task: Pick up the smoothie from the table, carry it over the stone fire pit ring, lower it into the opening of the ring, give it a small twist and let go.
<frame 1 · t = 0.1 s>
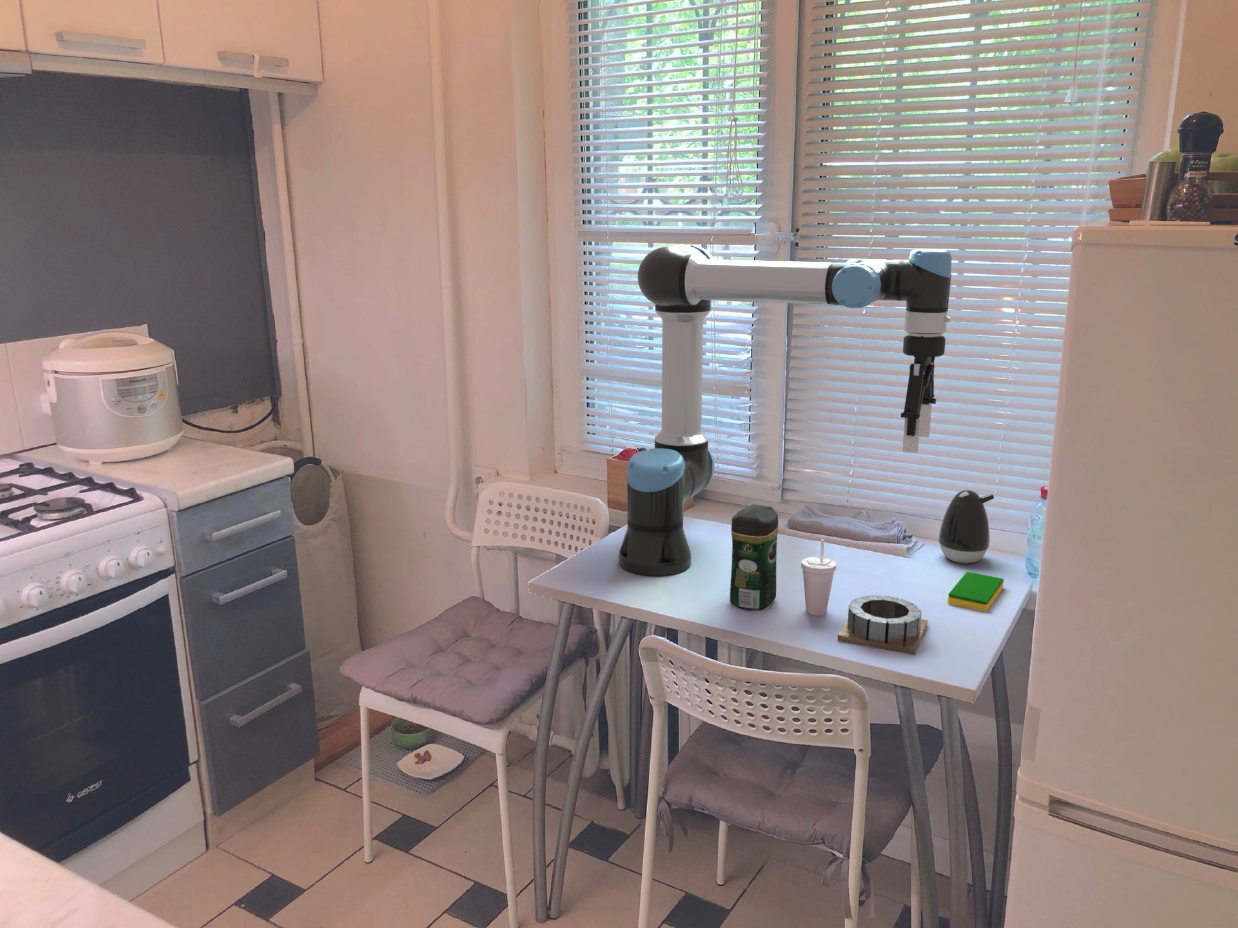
hand: (916, 444, 186), 28 cm above the table, tool pointing down, fingers open, 13 cm apart
stone fire pit ring: (883, 632, 170), on the table
pump dispenser: (962, 560, 204), on the table
coffee jar: (752, 603, 183), on the table
smoothie: (816, 612, 179), on the table
dish sponge: (975, 598, 186), on the table
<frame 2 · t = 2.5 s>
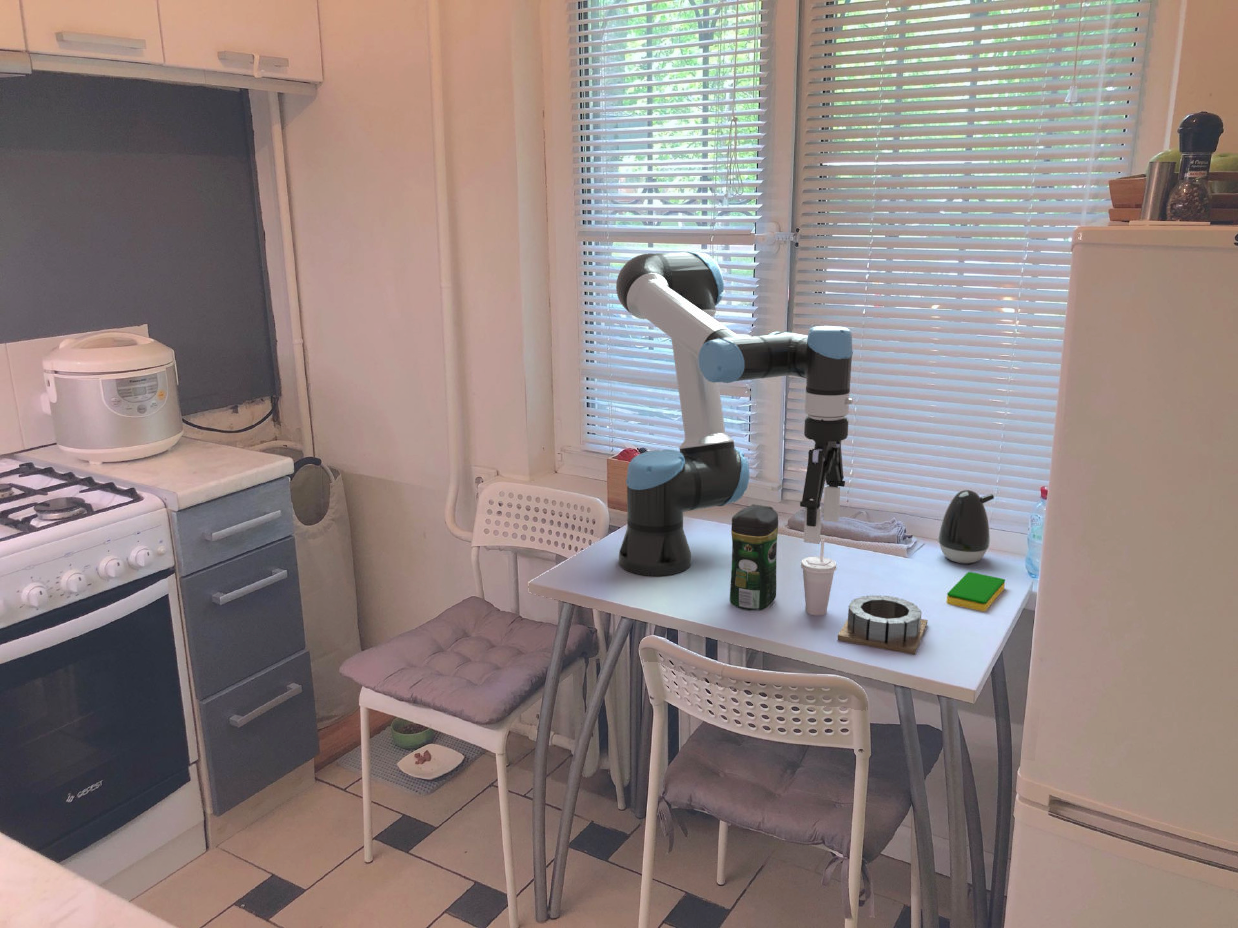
hand: (821, 531, 174), 16 cm above the table, tool pointing down, fingers open, 13 cm apart
nothing on the table moved.
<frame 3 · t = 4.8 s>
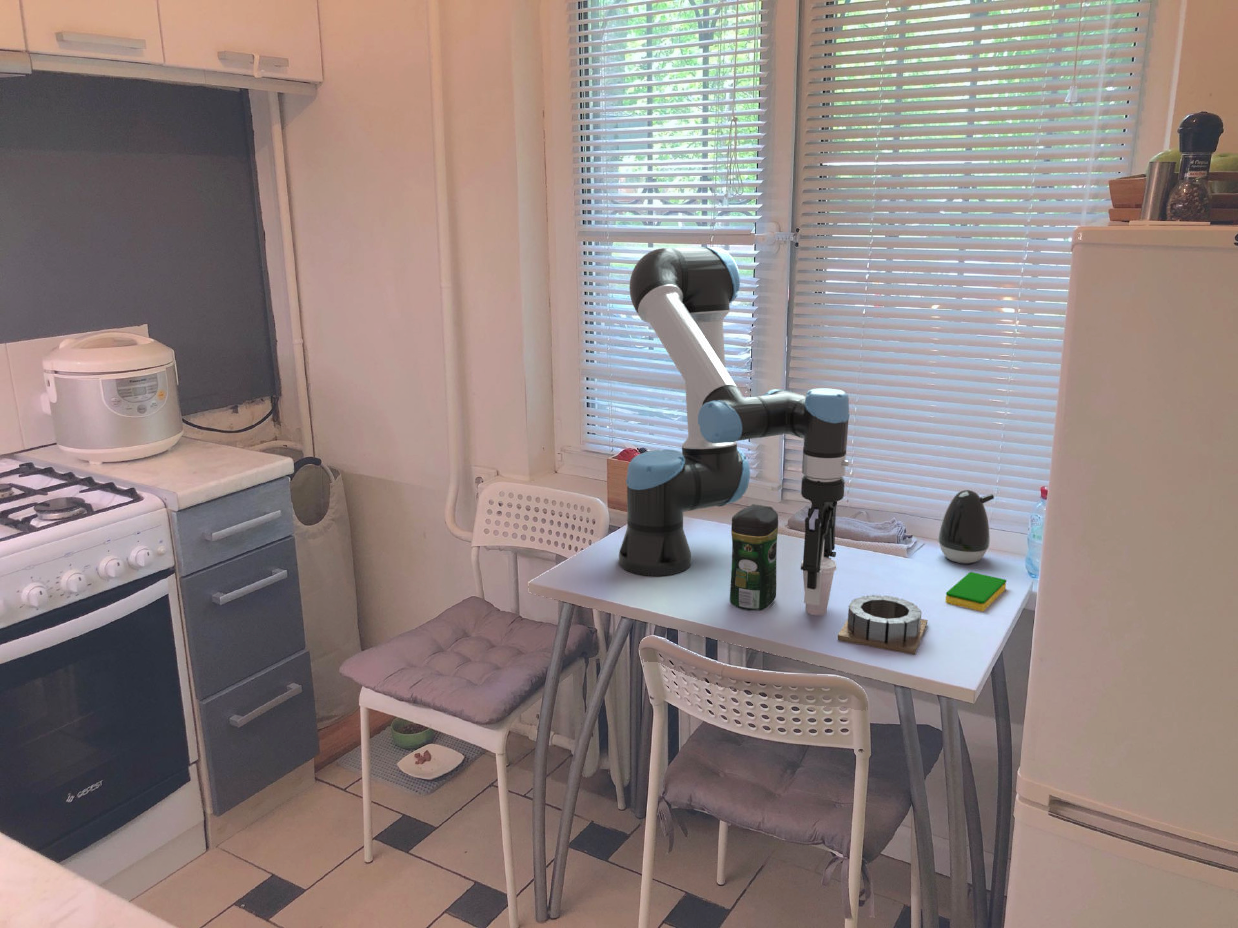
hand: (816, 596, 178), 3 cm above the table, tool pointing down, fingers closed on smoothie, 6 cm apart
smoothie: (816, 612, 179), on the table, touching gripper
everything else where it was.
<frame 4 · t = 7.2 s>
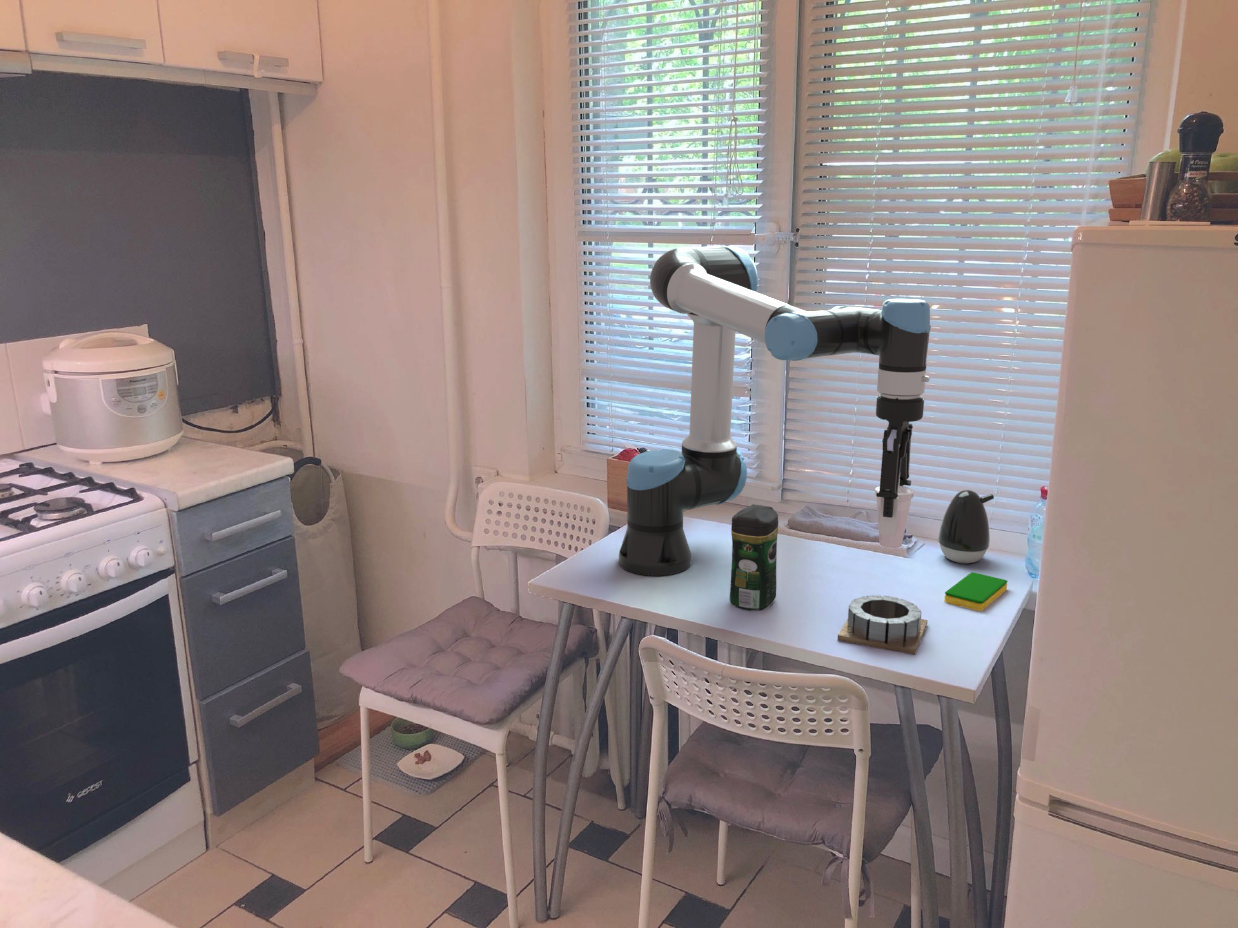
hand: (891, 527, 164), 19 cm above the table, tool pointing down, fingers closed on smoothie, 6 cm apart
smoothie: (890, 545, 165), point 16 cm above the table, touching gripper
everything else where it was.
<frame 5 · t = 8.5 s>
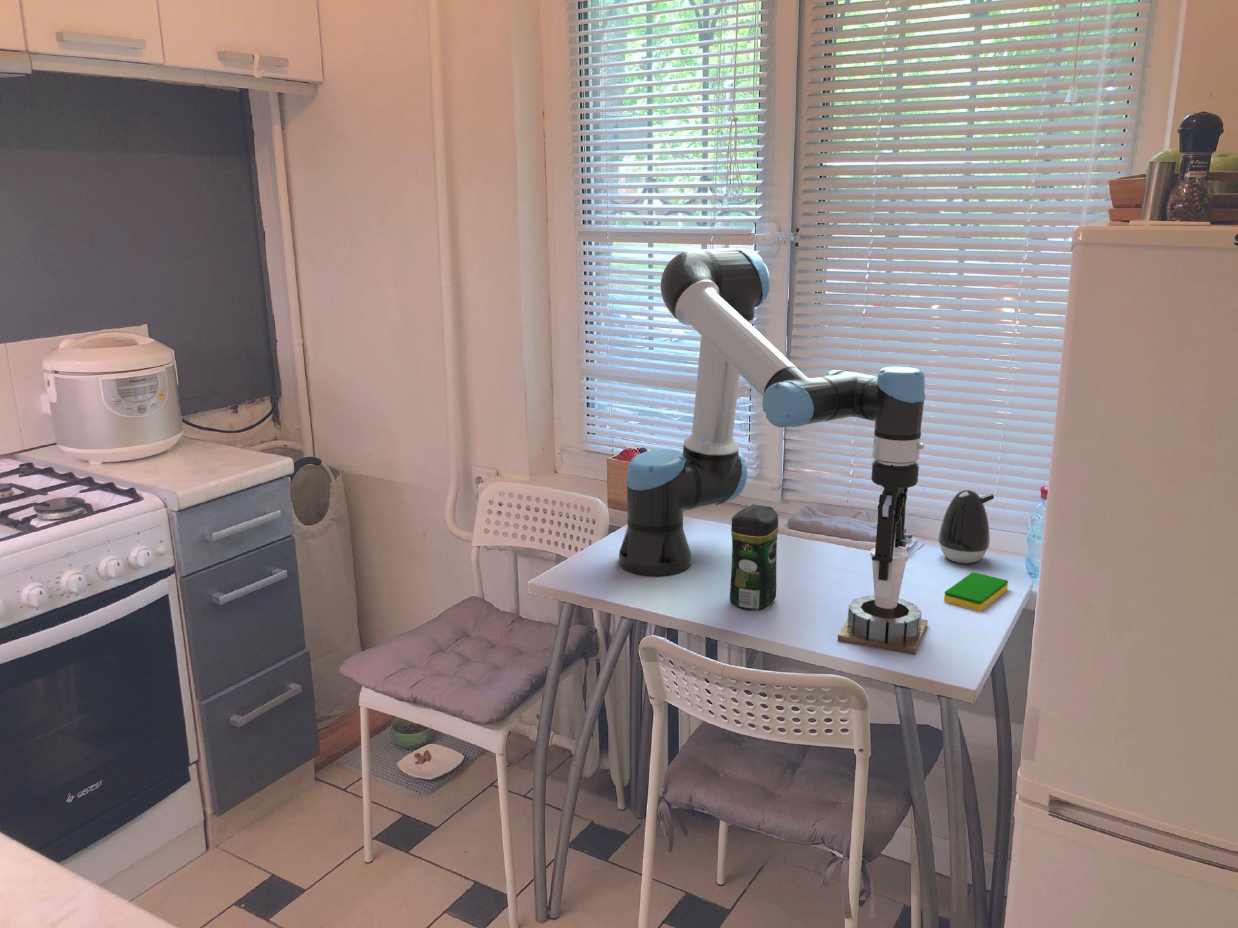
hand: (886, 588, 167), 8 cm above the table, tool pointing down, fingers closed on smoothie, 6 cm apart
smoothie: (885, 605, 168), point 5 cm above the table, touching gripper
everything else where it was.
when the fingers open (6 cm above the table, at t = 9.7 s): smoothie drops 2 cm, resting on stone fire pit ring.
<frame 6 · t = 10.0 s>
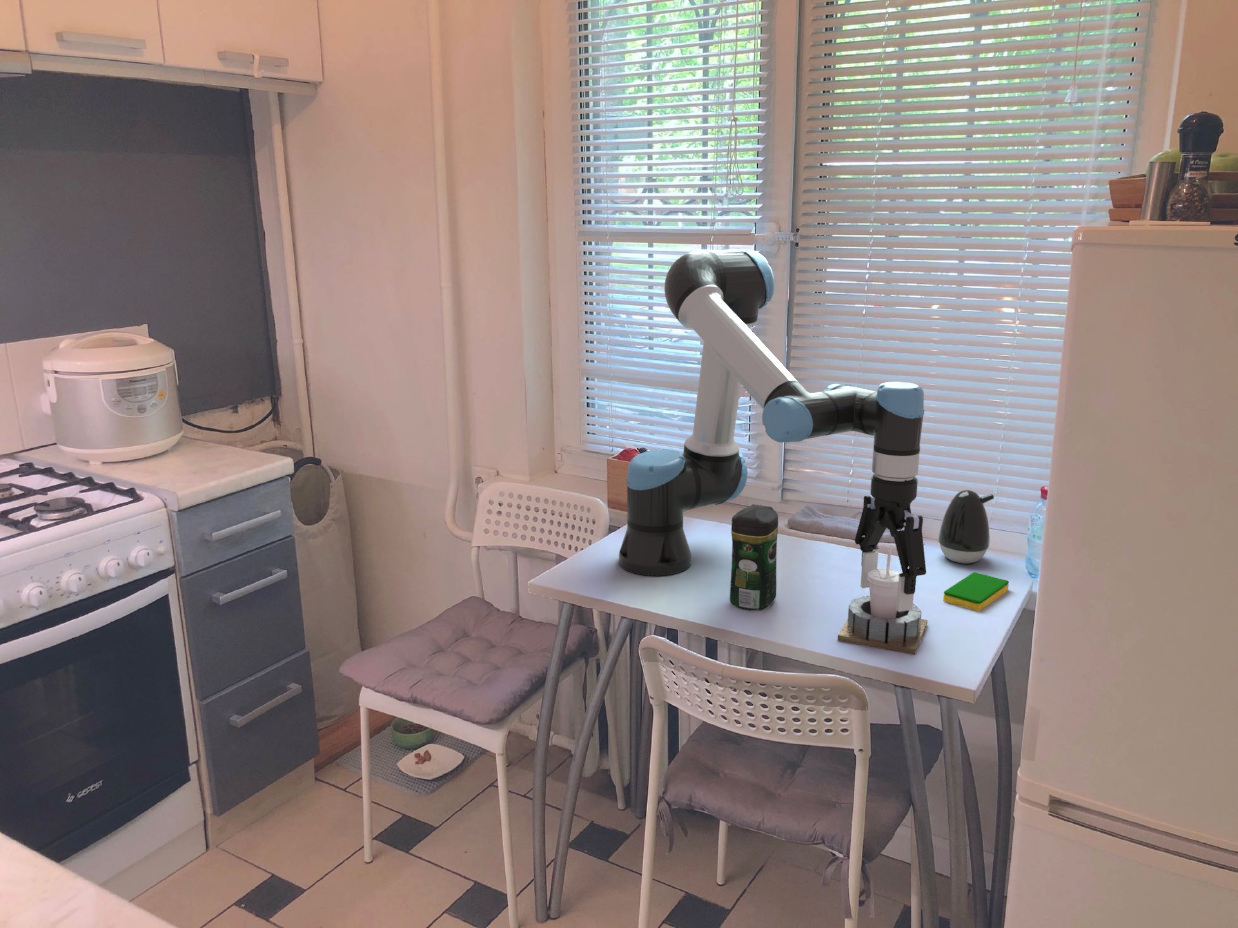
hand: (885, 597, 168), 7 cm above the table, tool pointing down, fingers open, 10 cm apart
smoothie: (882, 627, 170), point 1 cm above the table, touching stone fire pit ring
everything else where it was.
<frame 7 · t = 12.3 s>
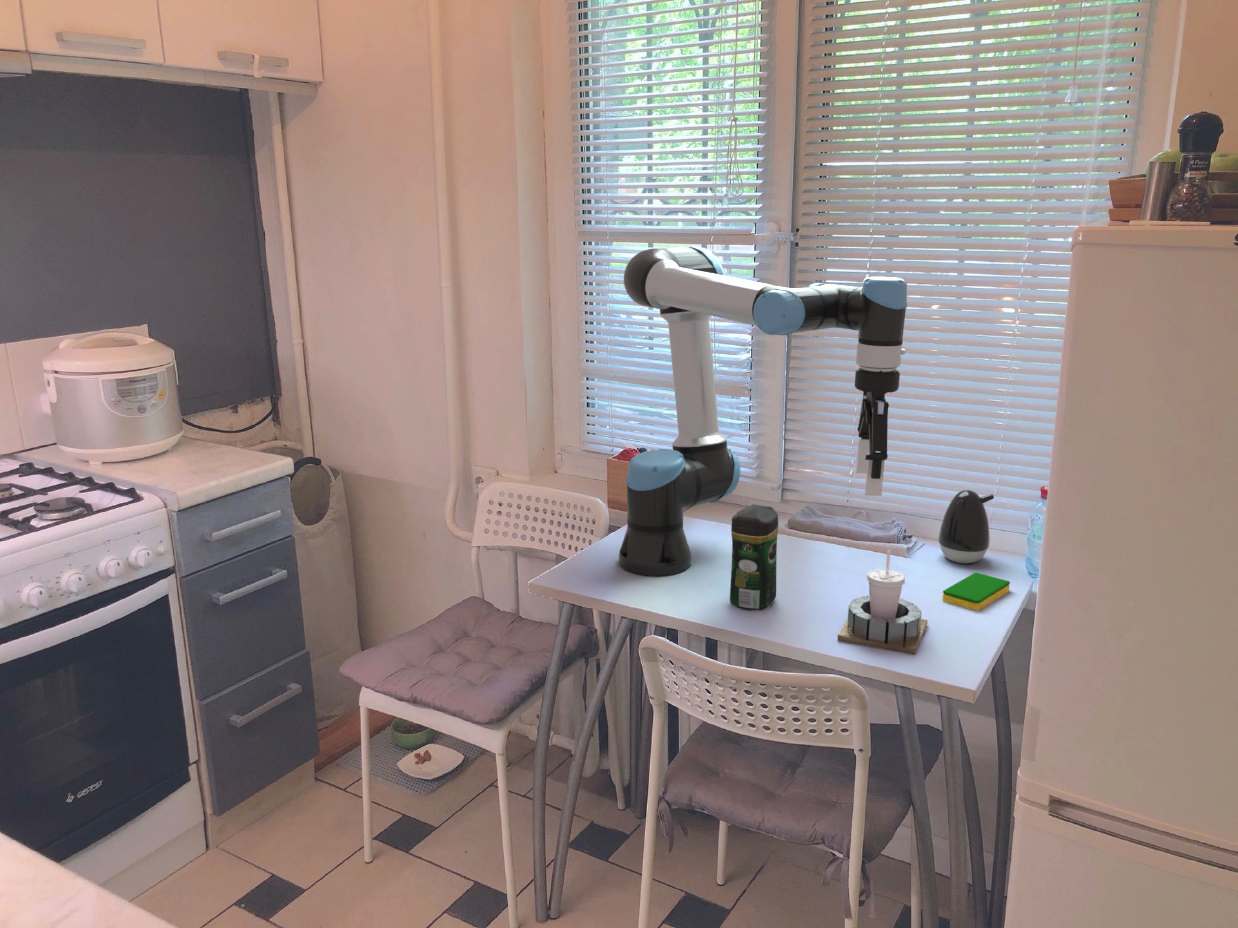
hand: (868, 483, 174), 24 cm above the table, tool pointing down, fingers open, 13 cm apart
nothing on the table moved.
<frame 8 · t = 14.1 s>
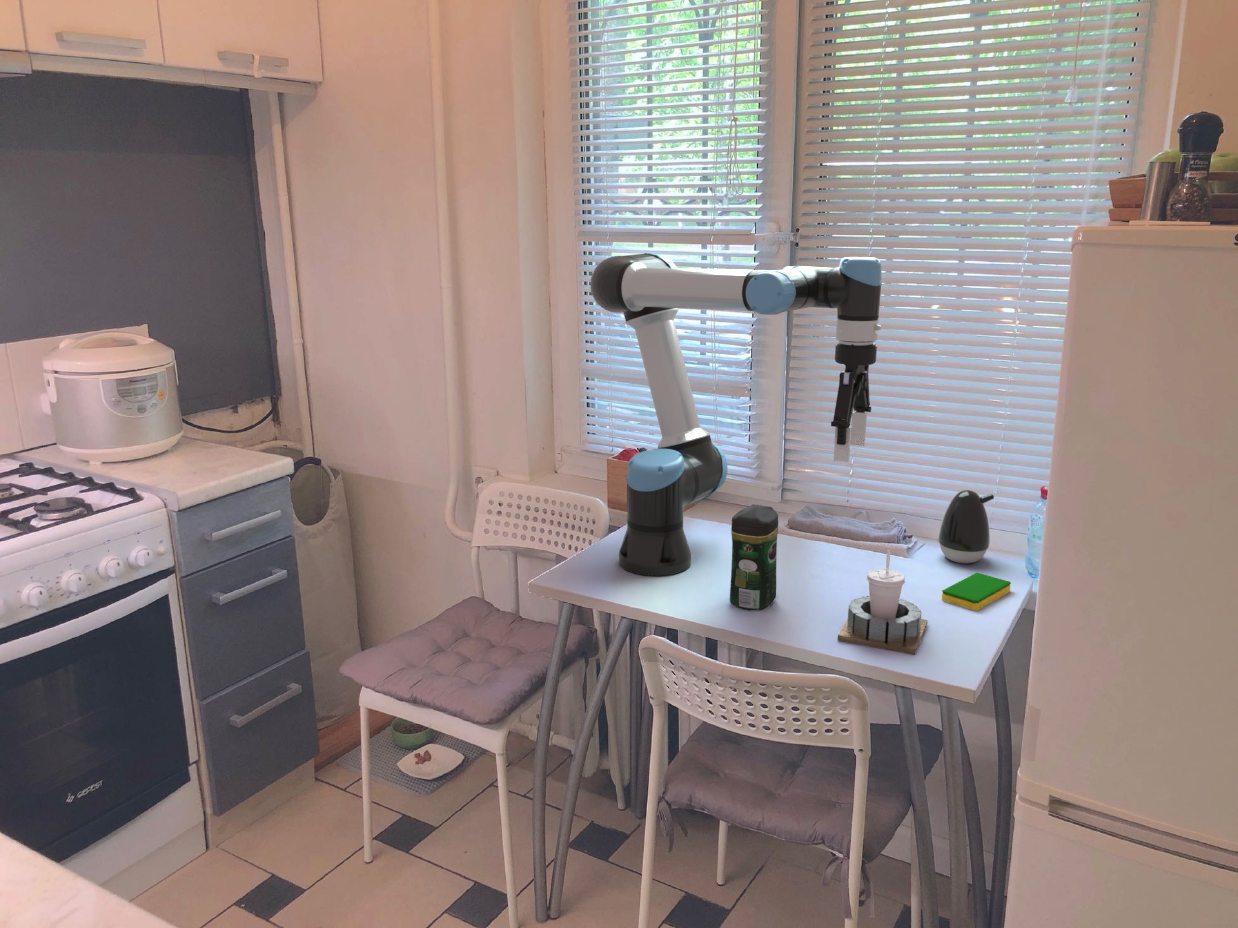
hand: (849, 452, 185), 27 cm above the table, tool pointing down, fingers open, 13 cm apart
nothing on the table moved.
at the end: smoothie 0.3 cm from the stone fire pit ring (horizontally); smoothie tilted 0°; smoothie point 0.8 cm above the table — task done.
